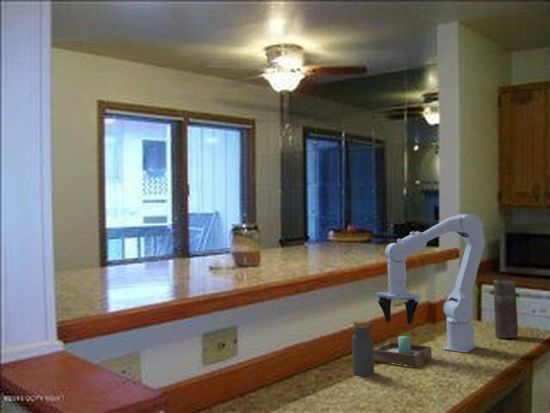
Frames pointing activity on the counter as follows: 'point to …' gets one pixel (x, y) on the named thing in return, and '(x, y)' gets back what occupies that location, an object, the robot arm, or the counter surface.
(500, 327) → the candle
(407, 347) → the peg
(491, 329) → the counter surface
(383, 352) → the box
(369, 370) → the bottle
